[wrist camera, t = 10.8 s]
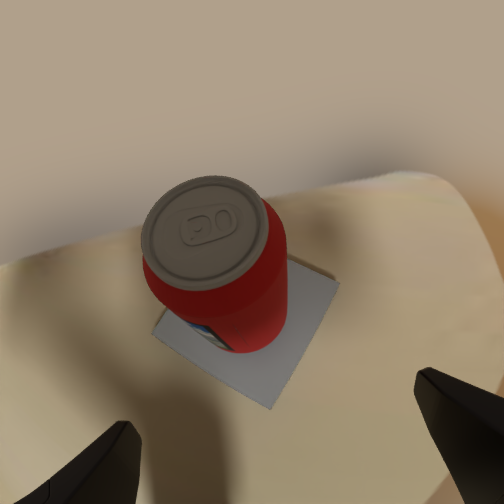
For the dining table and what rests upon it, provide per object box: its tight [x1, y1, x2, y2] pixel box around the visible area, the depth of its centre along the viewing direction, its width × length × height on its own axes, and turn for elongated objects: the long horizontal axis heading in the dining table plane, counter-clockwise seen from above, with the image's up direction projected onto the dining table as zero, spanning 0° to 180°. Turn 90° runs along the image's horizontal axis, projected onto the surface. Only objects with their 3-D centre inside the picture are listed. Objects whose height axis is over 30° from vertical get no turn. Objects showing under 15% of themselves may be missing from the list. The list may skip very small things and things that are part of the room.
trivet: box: [151, 259, 340, 409], centre depth 23 cm, size 11×11×1 cm
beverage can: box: [141, 176, 288, 353], centre depth 17 cm, size 7×7×12 cm
